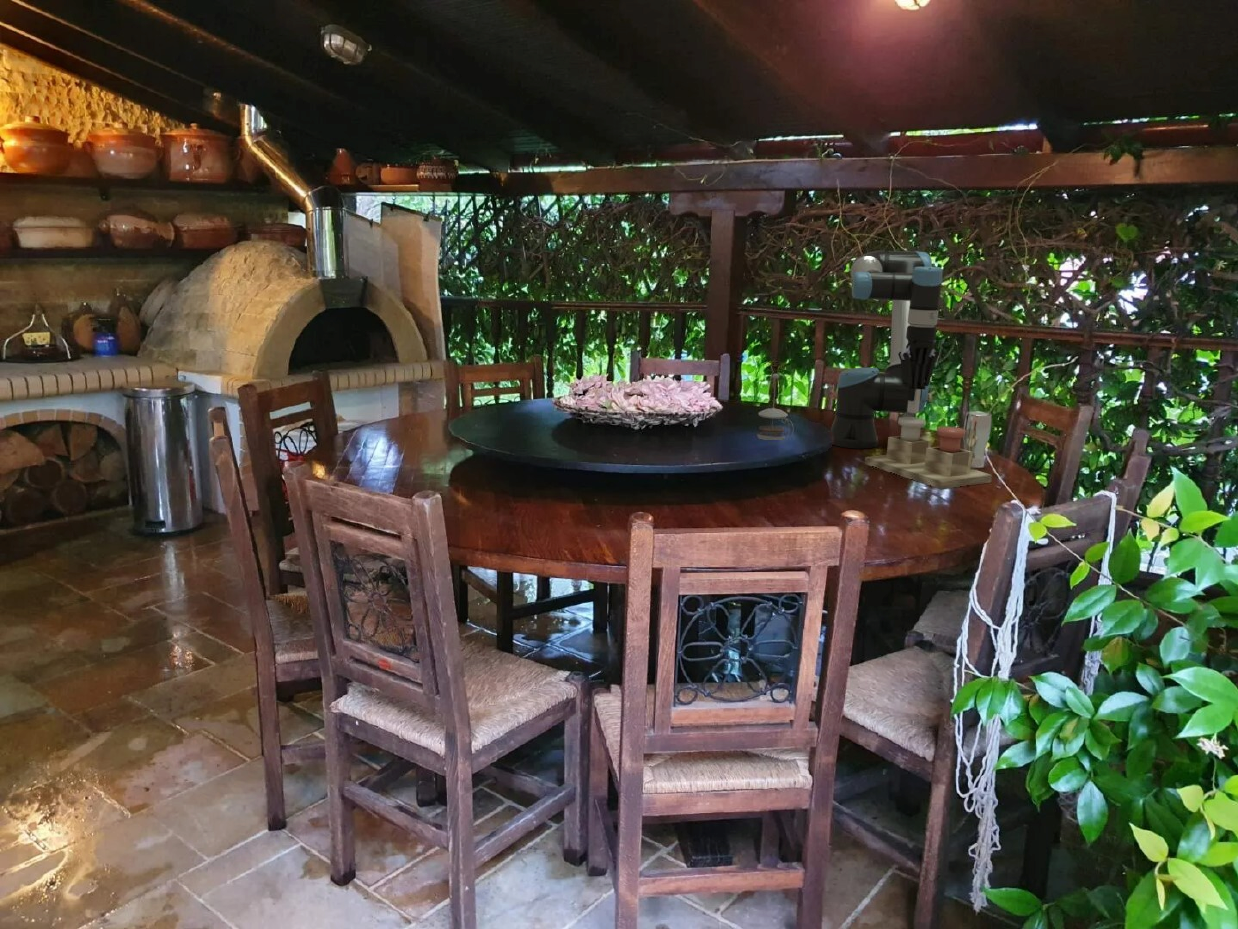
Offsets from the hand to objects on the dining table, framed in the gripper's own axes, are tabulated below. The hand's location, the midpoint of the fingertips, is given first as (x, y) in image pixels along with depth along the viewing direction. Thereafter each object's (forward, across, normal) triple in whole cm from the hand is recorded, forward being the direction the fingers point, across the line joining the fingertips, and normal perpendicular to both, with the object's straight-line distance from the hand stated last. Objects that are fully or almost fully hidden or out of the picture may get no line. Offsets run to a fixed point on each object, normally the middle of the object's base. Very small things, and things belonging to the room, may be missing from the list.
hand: (912, 412), depth 242 cm
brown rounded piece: (+9, 0, -14) cm, 17 cm away
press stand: (+16, 0, -7) cm, 17 cm away
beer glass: (+16, +19, -6) cm, 25 cm away
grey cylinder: (+9, 0, 0) cm, 9 cm away
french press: (+16, -32, +19) cm, 40 cm away
